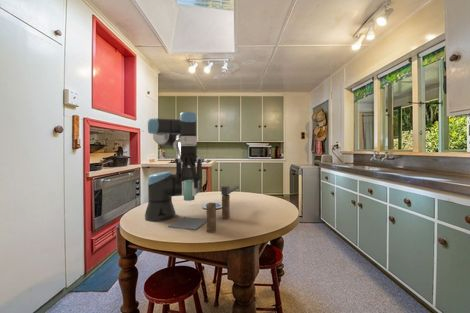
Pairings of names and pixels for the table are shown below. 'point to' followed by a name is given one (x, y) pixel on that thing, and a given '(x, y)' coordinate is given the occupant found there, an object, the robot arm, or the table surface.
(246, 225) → the table surface
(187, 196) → the plug
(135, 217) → the table surface
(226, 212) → the frame
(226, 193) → the dark grey bar
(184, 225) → the pad
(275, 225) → the table surface
